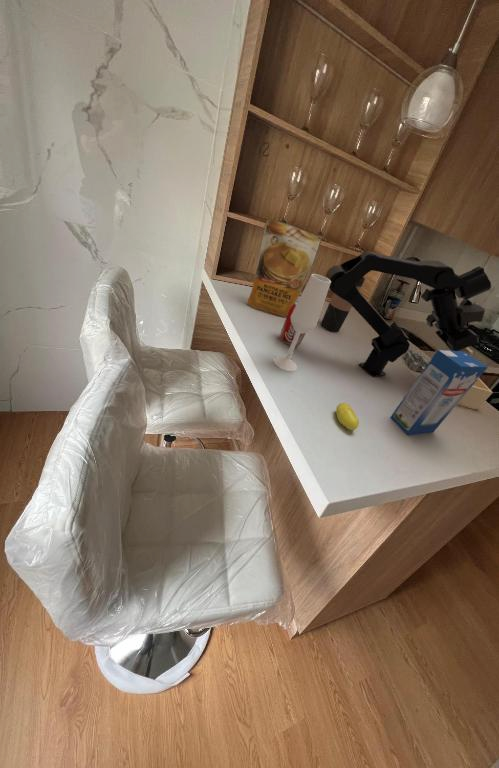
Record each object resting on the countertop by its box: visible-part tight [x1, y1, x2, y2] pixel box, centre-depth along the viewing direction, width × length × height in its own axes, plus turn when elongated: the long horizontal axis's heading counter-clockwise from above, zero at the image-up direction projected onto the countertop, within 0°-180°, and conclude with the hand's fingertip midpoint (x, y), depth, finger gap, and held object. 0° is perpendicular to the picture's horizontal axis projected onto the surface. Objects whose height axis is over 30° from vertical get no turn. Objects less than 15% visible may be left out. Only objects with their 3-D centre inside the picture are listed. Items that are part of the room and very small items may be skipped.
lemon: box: [335, 402, 360, 431], centre depth 73 cm, size 4×8×4 cm, turn 6°
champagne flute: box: [273, 273, 331, 372], centre depth 82 cm, size 7×7×24 cm
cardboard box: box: [456, 377, 494, 411], centre depth 103 cm, size 10×12×7 cm
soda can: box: [279, 300, 306, 346], centre depth 98 cm, size 7×7×12 cm
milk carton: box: [390, 349, 489, 436], centre depth 77 cm, size 10×6×20 cm, turn 114°
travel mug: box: [320, 276, 366, 333], centre depth 115 cm, size 8×8×20 cm
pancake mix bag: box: [245, 219, 322, 318], centre depth 110 cm, size 7×19×28 cm, turn 87°
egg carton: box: [402, 348, 430, 373], centre depth 115 cm, size 11×8×4 cm
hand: (455, 352), depth 96 cm, fingers closed, pressing on lid
